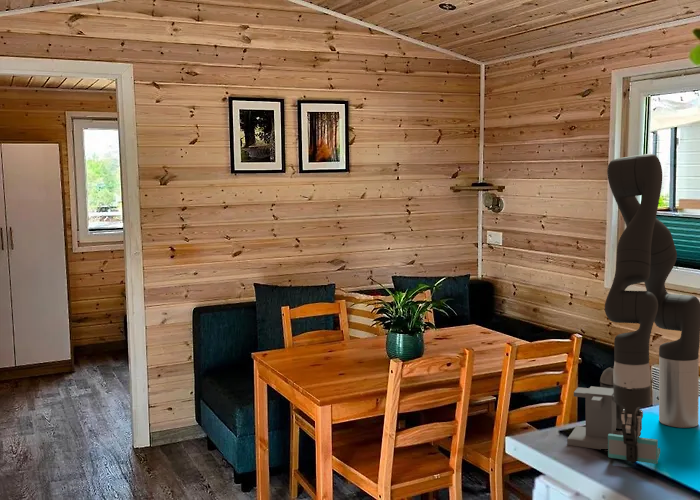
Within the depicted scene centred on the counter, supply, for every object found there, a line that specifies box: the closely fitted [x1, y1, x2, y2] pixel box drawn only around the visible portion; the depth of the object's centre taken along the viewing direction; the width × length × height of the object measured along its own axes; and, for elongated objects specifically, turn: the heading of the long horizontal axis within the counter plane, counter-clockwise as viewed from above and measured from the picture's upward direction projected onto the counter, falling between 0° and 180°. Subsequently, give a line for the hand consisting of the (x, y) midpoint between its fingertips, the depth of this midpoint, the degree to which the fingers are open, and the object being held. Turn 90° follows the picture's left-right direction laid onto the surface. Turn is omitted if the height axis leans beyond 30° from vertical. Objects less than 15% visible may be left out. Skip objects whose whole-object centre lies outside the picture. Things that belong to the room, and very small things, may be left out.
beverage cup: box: [599, 366, 625, 428], centre depth 181 cm, size 7×7×20 cm
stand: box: [566, 385, 623, 450], centre depth 171 cm, size 10×13×12 cm
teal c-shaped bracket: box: [607, 434, 661, 465], centre depth 158 cm, size 7×10×5 cm
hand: (632, 459), depth 155 cm, fingers closed on teal c-shaped bracket, 1 cm apart
